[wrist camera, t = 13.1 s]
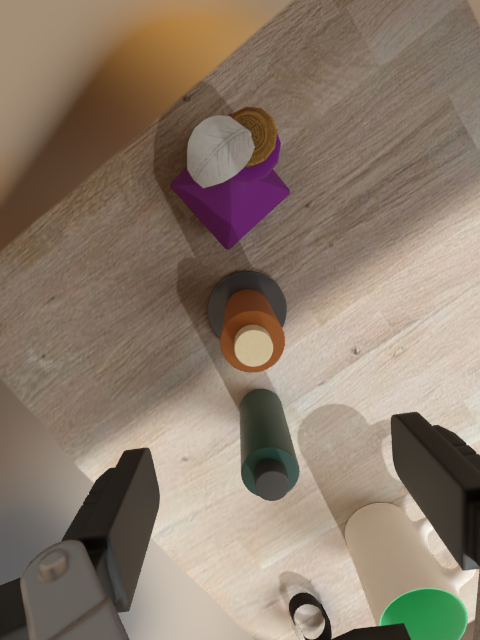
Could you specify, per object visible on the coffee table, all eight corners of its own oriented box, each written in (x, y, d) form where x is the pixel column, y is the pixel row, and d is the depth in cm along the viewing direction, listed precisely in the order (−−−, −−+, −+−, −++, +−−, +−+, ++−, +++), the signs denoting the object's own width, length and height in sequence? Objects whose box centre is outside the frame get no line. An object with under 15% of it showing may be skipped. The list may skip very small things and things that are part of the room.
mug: (413, 470, 40) (473, 547, 30) (452, 515, 42) (521, 603, 32) (330, 529, 42) (361, 621, 32) (370, 570, 43) (412, 671, 33)
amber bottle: (220, 327, 36) (212, 372, 24) (230, 284, 35) (228, 307, 23) (263, 338, 36) (277, 387, 24) (275, 295, 35) (296, 323, 23)
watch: (278, 595, 44) (282, 626, 41) (313, 582, 44) (319, 612, 40) (302, 638, 46) (308, 671, 42) (336, 625, 45) (344, 658, 42)
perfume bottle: (233, 132, 32) (230, 5, 15) (286, 196, 34) (340, 148, 16) (175, 190, 33) (108, 134, 16) (228, 250, 35) (220, 259, 17)
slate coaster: (200, 338, 37) (200, 339, 36) (217, 262, 35) (217, 263, 35) (274, 355, 37) (275, 356, 37) (295, 281, 36) (296, 282, 35)
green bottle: (235, 422, 39) (235, 505, 27) (245, 384, 38) (250, 453, 26) (275, 431, 39) (293, 517, 27) (286, 394, 38) (310, 466, 26)
